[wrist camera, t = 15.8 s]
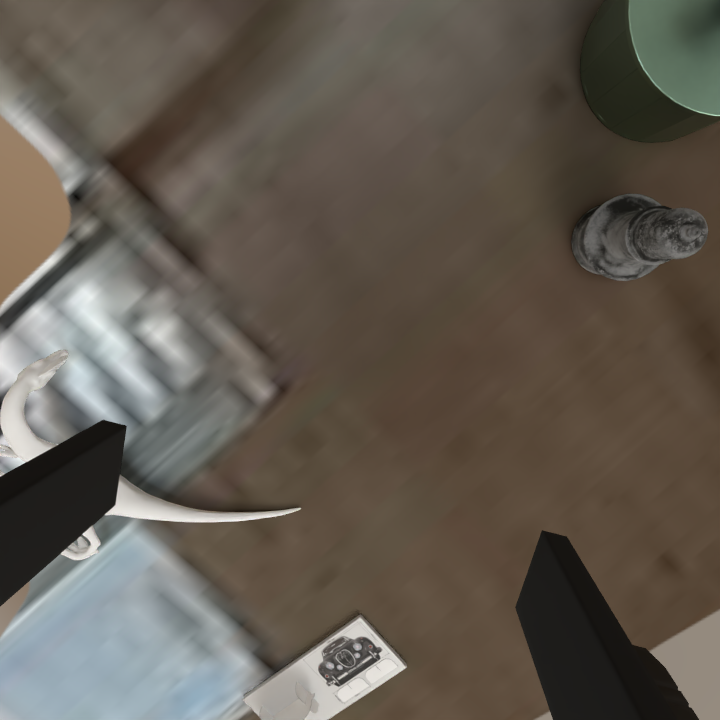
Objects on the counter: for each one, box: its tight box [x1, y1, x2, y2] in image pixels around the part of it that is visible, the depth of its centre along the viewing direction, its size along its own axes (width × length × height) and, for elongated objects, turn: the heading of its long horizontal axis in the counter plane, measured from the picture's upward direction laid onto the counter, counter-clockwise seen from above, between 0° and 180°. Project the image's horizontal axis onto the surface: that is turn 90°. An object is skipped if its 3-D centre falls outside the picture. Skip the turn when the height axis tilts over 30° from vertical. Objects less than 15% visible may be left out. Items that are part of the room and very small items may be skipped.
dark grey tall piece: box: [571, 194, 708, 281], centre depth 33 cm, size 6×6×12 cm
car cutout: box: [242, 614, 407, 720], centre depth 46 cm, size 15×7×4 cm, turn 130°
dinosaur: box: [0, 350, 301, 560], centre depth 45 cm, size 25×9×16 cm
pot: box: [580, 0, 720, 143], centre depth 32 cm, size 11×11×8 cm
